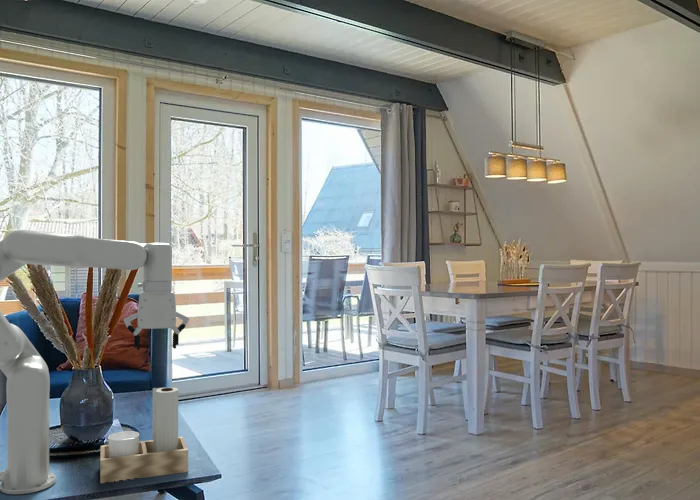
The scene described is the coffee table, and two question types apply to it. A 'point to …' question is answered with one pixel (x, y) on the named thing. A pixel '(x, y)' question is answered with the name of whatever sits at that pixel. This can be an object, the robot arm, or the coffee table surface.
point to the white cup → (123, 444)
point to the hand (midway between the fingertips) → (156, 348)
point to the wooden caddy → (143, 462)
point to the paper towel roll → (165, 419)
